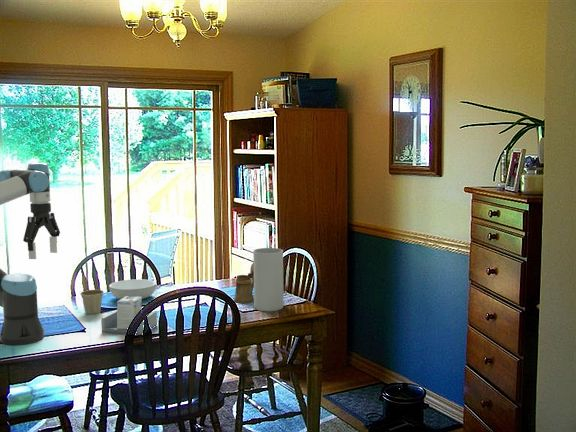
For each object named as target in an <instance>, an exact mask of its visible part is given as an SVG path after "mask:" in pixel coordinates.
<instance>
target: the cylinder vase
mask: <svg viewBox="0 0 576 432" xmlns="http://www.w3.org/2000/svg"><path fill="white" fill-rule="evenodd" d="M252 257H253V262H254V288H253V296H254V301H253V306H254V309H255V310H257V311H259V312H264V313H265V312H268V313H269V312H278V311H281V310H282V309H283V308H284V250H283V249H281V248H278V247H277V248H275V247H262V248H255V249H254V250H253V256H252Z"/></svg>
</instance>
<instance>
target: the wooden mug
mask: <svg viewBox="0 0 576 432" xmlns="http://www.w3.org/2000/svg"><path fill="white" fill-rule="evenodd" d="M249 270H250V272H249V273H247V274H239V275H237V276H236V279H235V291H234V297H233V302H235V303H237V304H238V303H239V304H248V303H252V302H254V261H253V262H252V264H251V266H250V269H249Z"/></svg>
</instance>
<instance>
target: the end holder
mask: <svg viewBox="0 0 576 432" xmlns="http://www.w3.org/2000/svg"><path fill="white" fill-rule="evenodd" d="M148 314H149V315H148ZM148 314H147V315H148V322H149V325H150V327H151V328H153V327H154V326H156V325H157V326H158V317H157V314H158V313H157V311H151V312H150V313H148ZM100 321H101V322H100V323H101V334H112V335H122V336H123V335H124V336H126V335H125V333H126V331H127V329H117V309H115V310H114V311H112V312H110V313H107V314H106V315H104V316H102V317H101V318H100ZM143 325H144V322H143V321H142V323H141V325H140V326H139V328H138V330H137V333H136V335H142V333H143ZM157 326H156V327H157ZM153 329H154V328H153ZM142 336H143V335H142Z"/></svg>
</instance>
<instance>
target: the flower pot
mask: <svg viewBox="0 0 576 432" xmlns="http://www.w3.org/2000/svg"><path fill="white" fill-rule="evenodd" d="M104 292H105V291H104V290H101V289H88V290H83V291H80V293H79V294H80V296H81V299H82V302H83V307H84V312H85V314H87V315H92V314H93V315H97V314H100V313H101V312H102V299H103V296H104Z"/></svg>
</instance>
